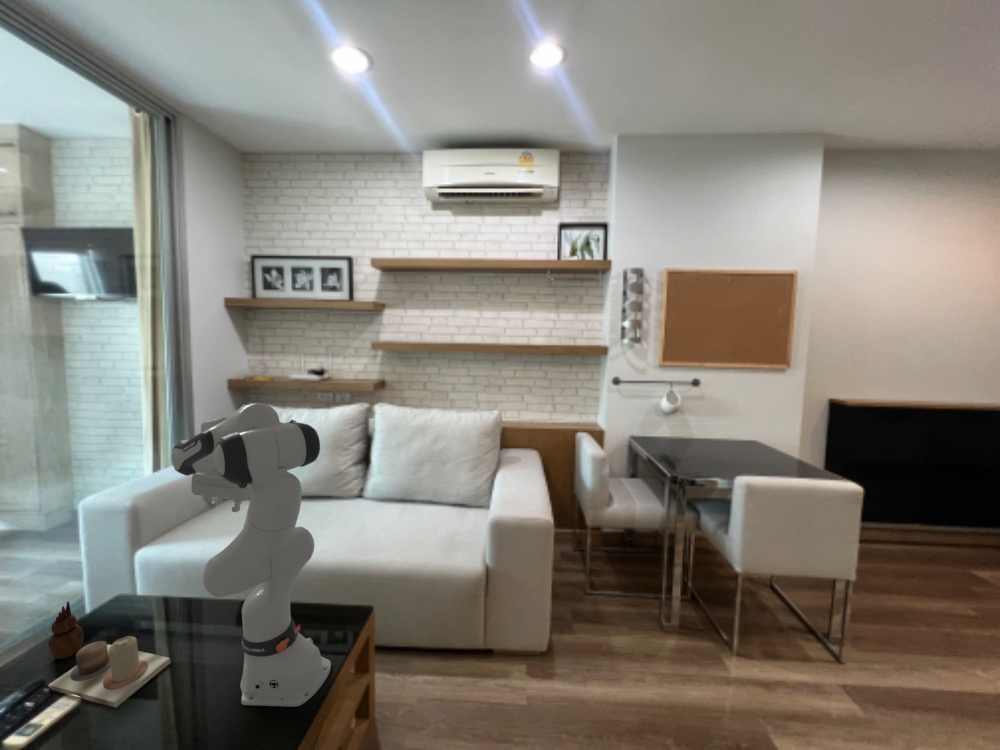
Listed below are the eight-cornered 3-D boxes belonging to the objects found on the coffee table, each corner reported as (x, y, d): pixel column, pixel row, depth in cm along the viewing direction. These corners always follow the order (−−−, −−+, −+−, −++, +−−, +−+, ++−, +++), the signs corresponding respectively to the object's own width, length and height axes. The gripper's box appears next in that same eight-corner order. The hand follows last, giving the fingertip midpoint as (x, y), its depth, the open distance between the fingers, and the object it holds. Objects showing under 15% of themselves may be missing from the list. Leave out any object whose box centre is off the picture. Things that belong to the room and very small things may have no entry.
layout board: (170, 662, 119) (168, 641, 118) (115, 707, 105) (112, 683, 104) (108, 648, 124) (105, 627, 123) (48, 690, 110) (45, 666, 109)
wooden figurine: (77, 642, 126) (70, 596, 124) (89, 648, 124) (82, 601, 122) (47, 659, 120) (39, 610, 117) (58, 666, 118) (50, 616, 115)
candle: (137, 661, 117) (133, 628, 116) (141, 672, 114) (138, 638, 112) (110, 674, 113) (106, 640, 112) (114, 686, 109) (110, 651, 108)
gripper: (183, 468, 134) (187, 510, 136) (239, 474, 129) (242, 517, 131) (201, 462, 140) (205, 502, 142) (255, 467, 136) (258, 508, 138)
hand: (223, 509), depth 137 cm, fingers open, 8 cm apart
